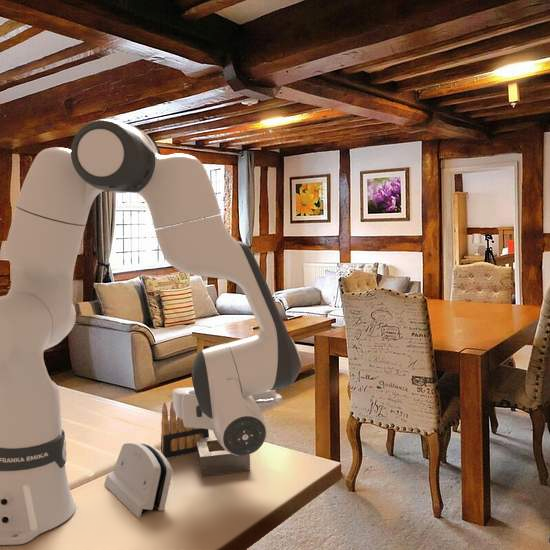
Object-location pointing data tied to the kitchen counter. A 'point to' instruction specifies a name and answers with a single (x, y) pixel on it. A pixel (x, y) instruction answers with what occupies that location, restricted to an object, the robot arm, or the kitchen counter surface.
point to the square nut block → (218, 458)
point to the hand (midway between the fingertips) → (220, 386)
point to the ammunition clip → (178, 435)
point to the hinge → (140, 478)
